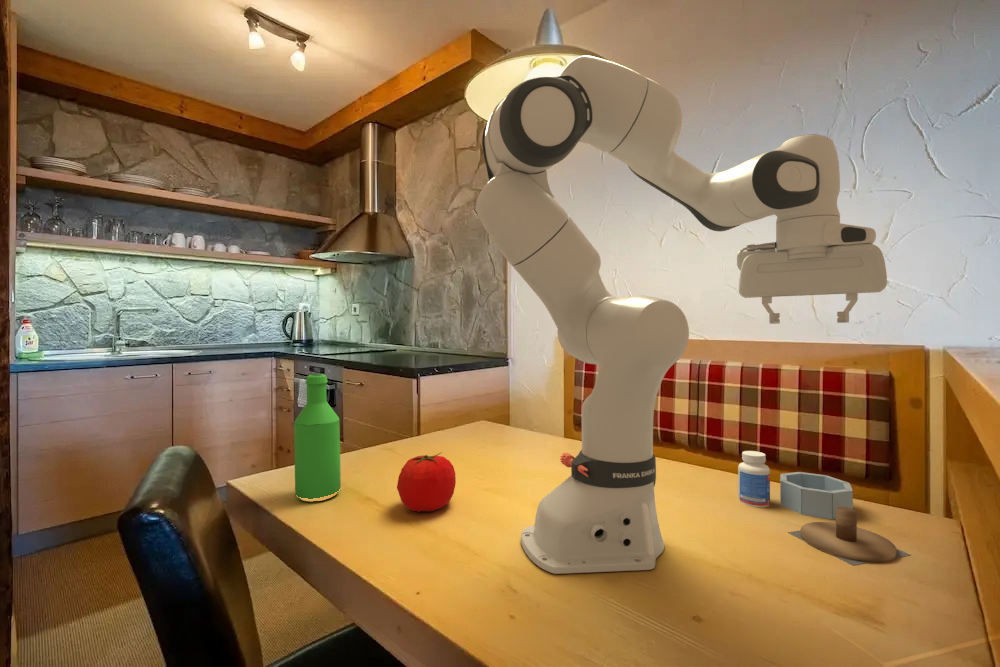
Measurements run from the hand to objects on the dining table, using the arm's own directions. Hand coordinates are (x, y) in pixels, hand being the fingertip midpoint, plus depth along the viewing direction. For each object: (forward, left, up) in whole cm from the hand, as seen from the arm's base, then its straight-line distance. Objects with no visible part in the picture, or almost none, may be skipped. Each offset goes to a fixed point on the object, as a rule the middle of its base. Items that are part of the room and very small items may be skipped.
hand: (807, 323), depth 78 cm
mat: (+1, -5, -35) cm, 35 cm away
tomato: (-60, +29, -35) cm, 75 cm away
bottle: (-81, +41, -35) cm, 97 cm away
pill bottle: (+1, +13, -35) cm, 37 cm away
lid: (+1, -5, -34) cm, 35 cm away
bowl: (+10, +8, -35) cm, 37 cm away
